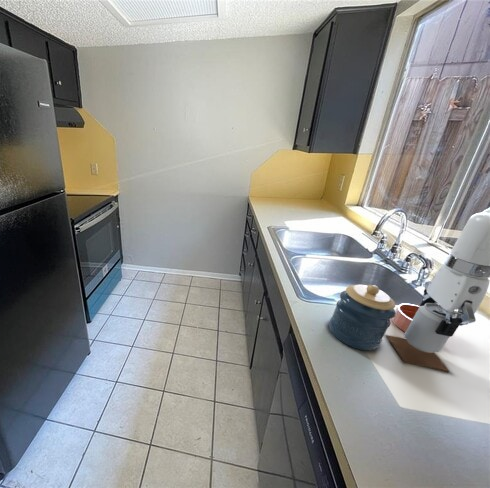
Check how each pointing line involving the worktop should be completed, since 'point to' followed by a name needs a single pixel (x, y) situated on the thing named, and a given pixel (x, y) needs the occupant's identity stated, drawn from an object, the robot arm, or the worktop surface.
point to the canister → (362, 316)
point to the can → (427, 328)
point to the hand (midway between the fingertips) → (432, 323)
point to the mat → (416, 354)
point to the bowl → (404, 315)
